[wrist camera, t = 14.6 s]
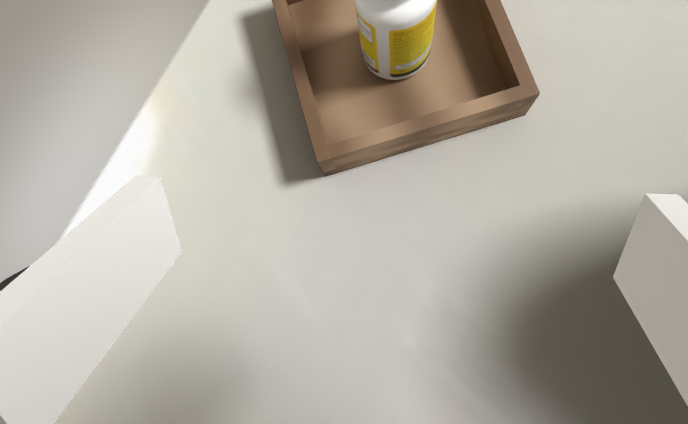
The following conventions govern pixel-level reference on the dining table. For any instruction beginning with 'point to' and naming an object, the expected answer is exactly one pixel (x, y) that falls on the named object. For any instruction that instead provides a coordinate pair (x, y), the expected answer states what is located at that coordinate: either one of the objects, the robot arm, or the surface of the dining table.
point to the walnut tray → (401, 80)
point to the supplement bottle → (395, 35)
